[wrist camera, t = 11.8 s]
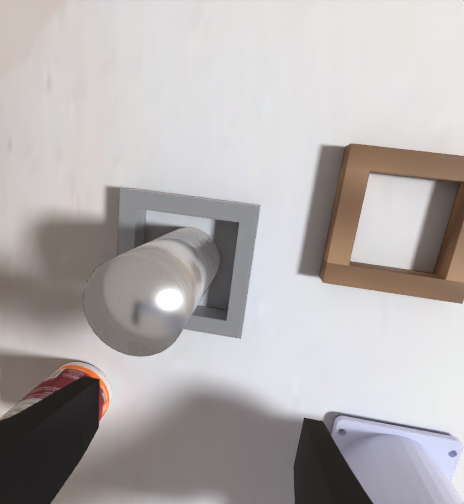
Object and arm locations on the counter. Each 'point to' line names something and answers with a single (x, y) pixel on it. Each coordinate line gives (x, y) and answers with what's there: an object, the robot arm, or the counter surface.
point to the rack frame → (247, 215)
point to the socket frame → (348, 213)
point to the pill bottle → (60, 380)
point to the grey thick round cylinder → (150, 291)
